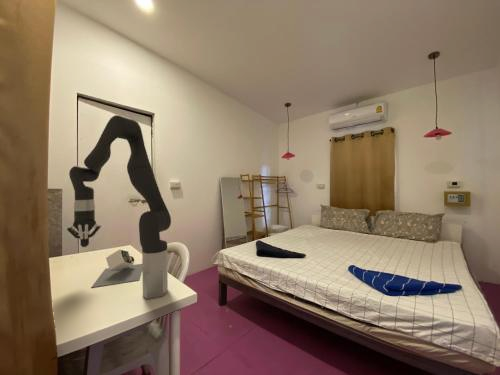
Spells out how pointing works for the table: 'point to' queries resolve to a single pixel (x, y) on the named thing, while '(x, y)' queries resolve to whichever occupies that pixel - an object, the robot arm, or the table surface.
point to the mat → (119, 276)
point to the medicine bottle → (119, 260)
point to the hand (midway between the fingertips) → (84, 246)
